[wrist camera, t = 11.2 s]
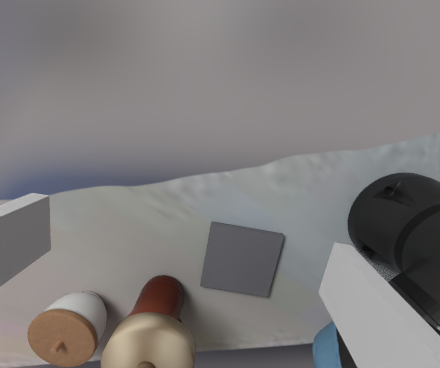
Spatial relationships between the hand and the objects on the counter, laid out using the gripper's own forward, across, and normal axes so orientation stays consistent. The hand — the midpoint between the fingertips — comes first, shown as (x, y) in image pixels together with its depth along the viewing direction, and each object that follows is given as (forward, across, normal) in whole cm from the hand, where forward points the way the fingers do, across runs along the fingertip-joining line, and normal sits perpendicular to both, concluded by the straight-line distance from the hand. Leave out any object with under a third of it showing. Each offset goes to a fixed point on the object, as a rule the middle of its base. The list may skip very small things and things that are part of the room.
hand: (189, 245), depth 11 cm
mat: (+27, -7, +17) cm, 32 cm away
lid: (+16, +4, +27) cm, 32 cm away
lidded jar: (+27, +19, +32) cm, 46 cm away
